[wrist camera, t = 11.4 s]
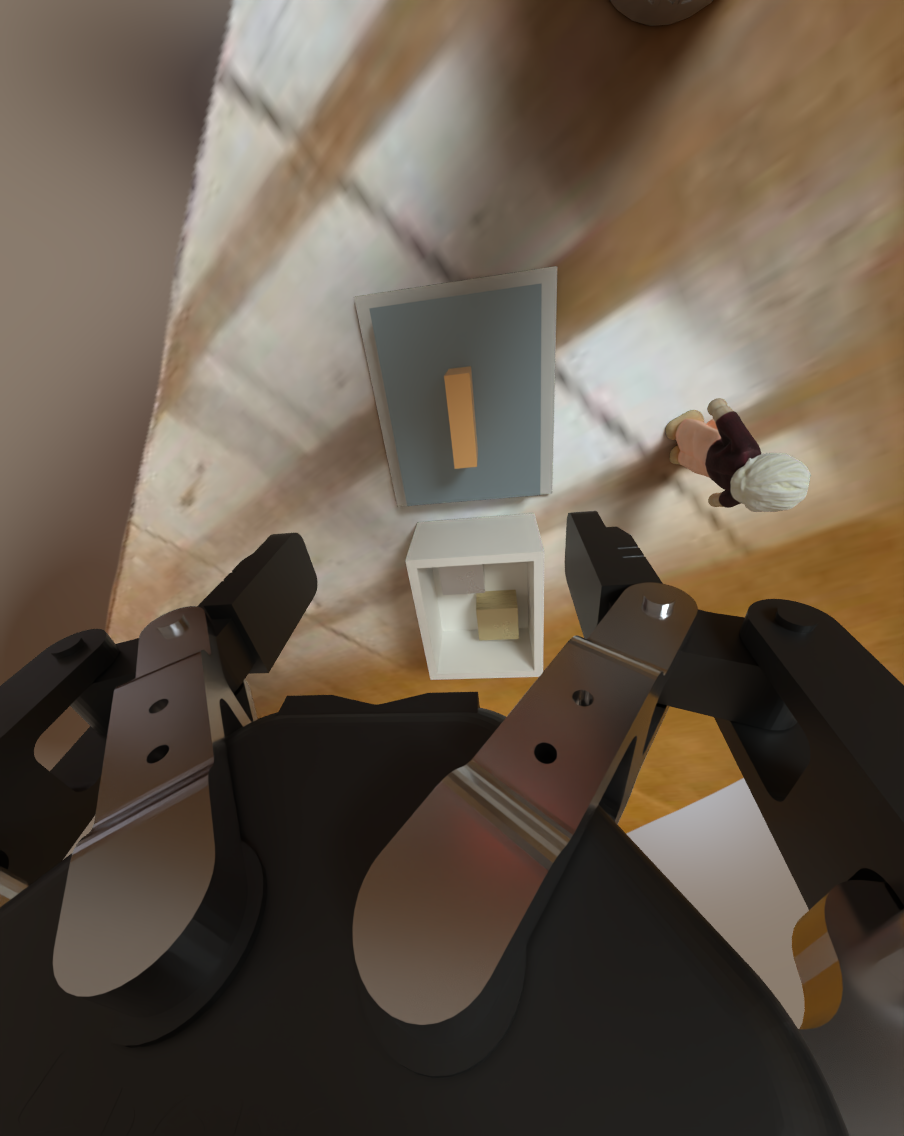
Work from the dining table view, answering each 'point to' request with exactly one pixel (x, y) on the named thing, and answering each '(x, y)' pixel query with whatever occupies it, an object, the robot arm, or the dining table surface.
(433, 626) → the small white cabinet
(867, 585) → the dining table surface
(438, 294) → the mat
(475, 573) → the steel part
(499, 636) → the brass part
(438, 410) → the lid
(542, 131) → the dining table surface
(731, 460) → the grandmother figurine
